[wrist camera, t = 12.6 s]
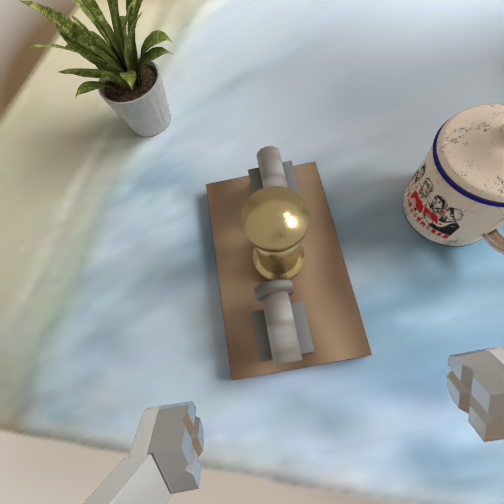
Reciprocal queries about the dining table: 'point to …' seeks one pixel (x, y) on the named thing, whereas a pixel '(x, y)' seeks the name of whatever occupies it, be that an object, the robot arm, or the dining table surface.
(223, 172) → the dining table surface
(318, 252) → the shaft rig
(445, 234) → the teacup with lid
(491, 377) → the robot arm
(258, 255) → the brass door knob
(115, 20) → the house plant
